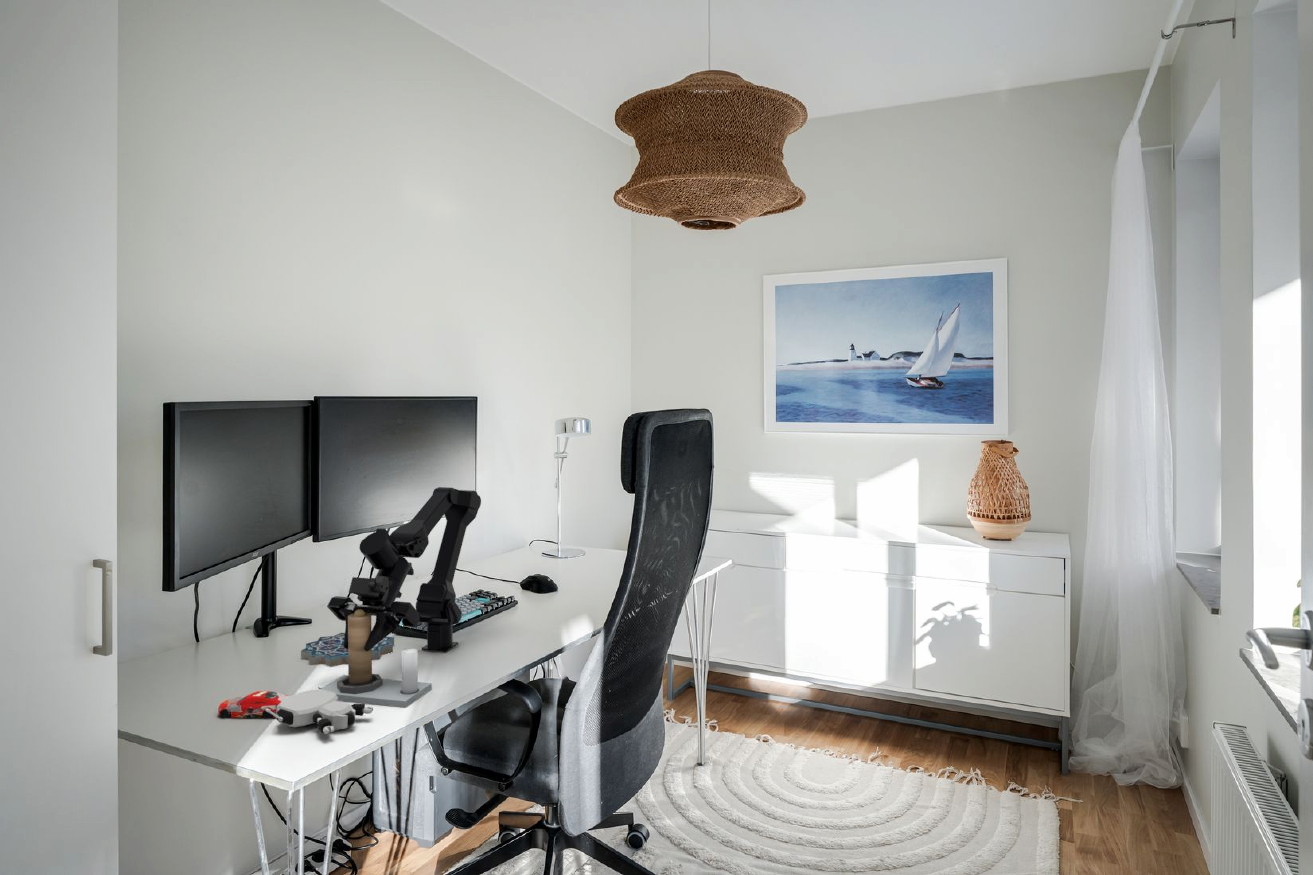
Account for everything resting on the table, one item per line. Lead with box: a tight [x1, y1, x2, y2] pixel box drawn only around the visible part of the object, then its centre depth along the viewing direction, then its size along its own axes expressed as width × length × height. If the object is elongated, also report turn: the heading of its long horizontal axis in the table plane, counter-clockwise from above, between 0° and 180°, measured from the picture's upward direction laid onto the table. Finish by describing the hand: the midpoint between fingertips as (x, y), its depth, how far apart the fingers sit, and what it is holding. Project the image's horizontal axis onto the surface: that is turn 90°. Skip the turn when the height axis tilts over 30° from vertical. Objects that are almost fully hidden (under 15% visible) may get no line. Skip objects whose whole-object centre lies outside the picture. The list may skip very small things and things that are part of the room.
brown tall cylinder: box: [347, 609, 373, 683], centre depth 156 cm, size 4×4×14 cm
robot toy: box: [265, 686, 374, 734], centre depth 141 cm, size 12×4×15 cm
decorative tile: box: [300, 632, 395, 668], centre depth 182 cm, size 20×20×2 cm
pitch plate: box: [321, 648, 433, 708], centre depth 155 cm, size 10×20×9 cm, turn 77°
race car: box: [217, 690, 291, 720], centre depth 145 cm, size 13×5×4 cm, turn 88°
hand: (355, 649), depth 155 cm, fingers closed on brown tall cylinder, 4 cm apart
